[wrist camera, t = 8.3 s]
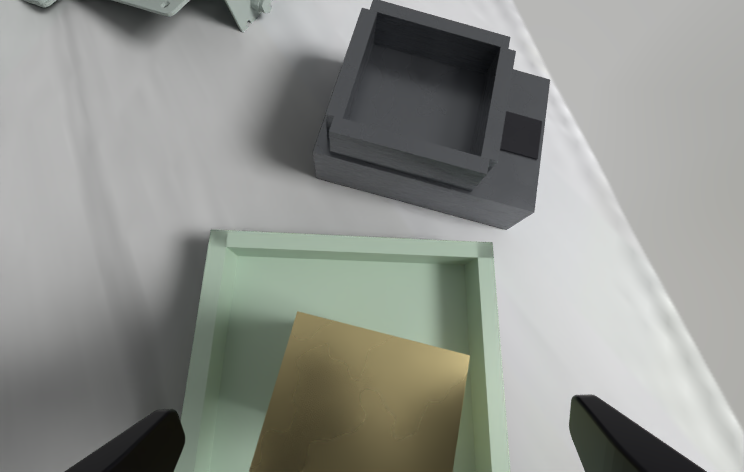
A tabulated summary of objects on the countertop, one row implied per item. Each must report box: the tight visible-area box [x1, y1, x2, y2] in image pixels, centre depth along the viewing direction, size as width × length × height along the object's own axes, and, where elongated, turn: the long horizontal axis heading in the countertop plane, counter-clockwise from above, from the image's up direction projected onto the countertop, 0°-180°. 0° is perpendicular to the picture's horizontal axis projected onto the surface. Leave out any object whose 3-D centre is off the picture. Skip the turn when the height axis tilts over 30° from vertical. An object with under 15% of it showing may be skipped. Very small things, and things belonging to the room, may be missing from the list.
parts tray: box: [174, 230, 510, 472], centre depth 16 cm, size 16×14×2 cm
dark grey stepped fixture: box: [313, 0, 550, 230], centre depth 19 cm, size 8×12×5 cm
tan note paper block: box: [249, 311, 470, 472], centre depth 12 cm, size 4×4×9 cm
